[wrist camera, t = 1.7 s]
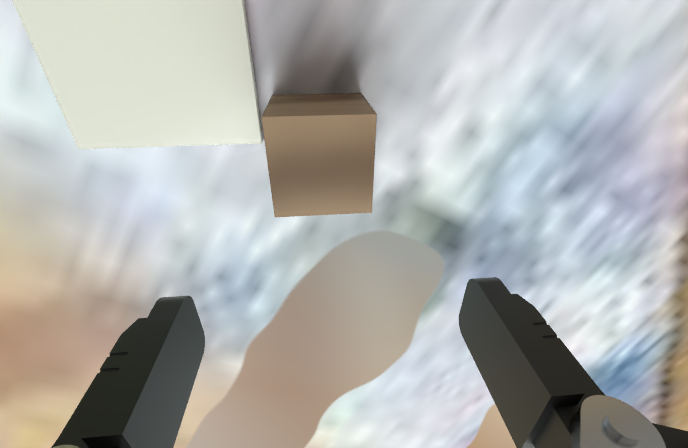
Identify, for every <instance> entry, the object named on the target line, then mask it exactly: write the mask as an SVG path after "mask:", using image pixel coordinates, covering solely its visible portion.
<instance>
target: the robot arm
mask: <svg viewBox="0 0 688 448" xmlns="http://www.w3.org/2000/svg"><path fill="white" fill-rule="evenodd" d="M459 326H460V331H461V334H462V336H463V338H464V340H465V342H466V344H467V347H468V349H469V351H470V353H471V355H472V357H473V359H474V361H475V363H476V365H477V367H478V369H479V371H480V373H481V375H482V377H483V379H484V381H485V383H486V385H487V387H488V390H489V392H490V394H491V396H492V398H493V400H494V402H495V404H496V406H497V408H498V410H499V412H500V414H501V416H502V418H503V420H504V422H505V424H506V426H507V428H508V430H509V432H510V435H511V437H512V439H513V440H514V443H515V445H516V447H517V448H688V431H684V430H680V429H675V428H671V427H666V426H662V425H658V424H654V423H651V422H650V421H649V420H648V419H647V418H646V417H645V416H644V415H643V414H641V413H640V412H639V411H637V410H636V409H635V408H633V407H632V406H630V405H628V404H627V403H625V402H623V401H621V400H618V399H616V398H613V397H609V396H606V395H605V394H604V393H603V392H602V391H601V390H600V389H599V387H598V386H597V385H596V384H595V382H594V381H593V380H592V379H591V377H590V376H589V375H588V374H587V372H586V371H585V370H584V369H583V367H582V366H581V365H580V364H579V362H578V361H577V360H576V358H575V357H574V356H573V355H572V353H571V352H570V351H569V350H568V348H567V347H566V346H565V345H564V343H563V342H562V341H561V340H560V338H557V335H556V333H555V332H554V331H553V329H552V328H551V327H550V326H549V325H547V324H546V321H545V319H544V318H543V317H542V316H541V314H540V313H539V312H538V311H537V309H536V308H535V307H534V306H533V305H532V304H530V303H529V302H527V301H526V300H525V299H523V298H522V297H521V296H519V295H518V294H510V292H509V291H508V289H507V288H506V287H505V285H504V284H503V283H502V281H501V280H500V279H498V278H496V277H493V278H477V279H470V280H469V281H468V283H467V287H466V290H465V294H464V298H463V302H462V306H461V310H460V314H459ZM204 347H205V336H204V331H203V328H202V325H201V322H200V319H199V316H198V313H197V310H196V307H195V304H194V301H193V299H192V297H190V296H178V297H163V298H160V299H158V300H157V302H156V303H155V305H154V307H153V309H152V310H151V312H150V314H149V316H148V318H139V319H138V320H136V321H135V322H134V323H133V324H132V325H131V326H130V327H129V328H128V329H127V330H126V331H124V332H123V333H122V334H121V336H120V337H119V339H118V340H117V342H116V344H115V345H114V347H113V349H112V350H111V352H110V356H109V357H107V359H106V360H105V362H104V364H103V365H102V367H101V368H100V373H97V375H96V377H95V378H94V380H93V382H92V383H91V385H90V387H89V388H88V390H87V392H86V393H85V395H84V396H83V398H82V400H81V401H80V403H79V405H78V406H77V408H76V410H75V411H74V413H73V415H72V416H71V418H70V420H69V421H68V423H67V424H66V426H65V428H64V429H63V431H62V433H61V434H60V436H59V438H58V439H57V440H56V442H55V443H54V445H53V446H52V447H51V448H173V446H174V443H175V440H176V437H177V434H178V431H179V428H180V425H181V422H182V418H183V415H184V412H185V409H186V406H187V403H188V400H189V397H190V394H191V391H192V387H193V384H194V381H195V378H196V375H197V372H198V369H199V366H200V363H201V360H202V356H203V353H204Z"/></svg>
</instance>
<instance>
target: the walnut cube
mask: <svg viewBox="0 0 688 448" xmlns="http://www.w3.org/2000/svg"><path fill="white" fill-rule="evenodd" d="M376 116H377V114H376V113H375V111H374V110H373V108H372V107H371V106H370V104H369V103H368V102H367V100H366V99H365V98H364V96H363V95H362V93H349V94H300V95H272V97H271V99H270V101H269V103H268V105H267V107H266V109H265V111H264V113H263V115H262V125H263V132H264V140H265V147H266V155H267V162H268V170H269V177H270V184H271V192H272V199H273V207H274V214H275V217H289V216H310V215H330V214H351V213H372V198H373V178H374V157H375V137H376Z"/></svg>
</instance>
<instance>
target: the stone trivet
mask: <svg viewBox="0 0 688 448" xmlns="http://www.w3.org/2000/svg"><path fill="white" fill-rule="evenodd" d="M12 1H13V3H14V6H15V8H16V10H17V12H18V14H19V17H20V19H21V21H22V23H23V26H24V28H25V30H26V32H27V35H28V37H29V39H30V41H31V44H32V46H33V48H34V50H35V53H36V55H37V57H38V59H39V62H40V64H41V66H42V68H43V71H44V73H45V75H46V77H47V79H48V82H49V84H50V86H51V88H52V91H53V93H54V95H55V97H56V100H57V102H58V104H59V106H60V109H61V111H62V113H63V115H64V118H65V120H66V122H67V124H68V127H69V129H70V131H71V133H72V136H73V138H74V140H75V142H76V145H77V147H78V149H99V148H131V147H164V146H196V145H228V144H261V143H262V141H263V136H262V128H261V121H260V113H259V106H258V99H257V91H256V84H255V77H254V69H253V62H252V54H251V47H250V40H249V32H248V25H247V18H246V10H245V3H244V0H12Z"/></svg>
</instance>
